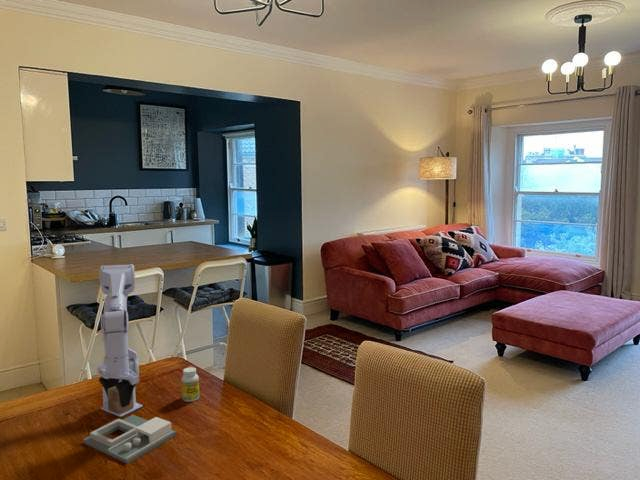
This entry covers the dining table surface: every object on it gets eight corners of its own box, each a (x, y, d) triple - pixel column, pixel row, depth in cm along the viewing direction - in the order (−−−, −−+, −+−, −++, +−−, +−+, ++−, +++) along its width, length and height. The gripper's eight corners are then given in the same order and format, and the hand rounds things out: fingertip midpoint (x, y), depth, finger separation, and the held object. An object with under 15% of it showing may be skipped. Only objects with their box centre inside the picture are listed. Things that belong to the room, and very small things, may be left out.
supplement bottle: (196, 393, 164) (195, 365, 163) (202, 399, 160) (201, 370, 158) (179, 397, 161) (178, 368, 160) (185, 403, 157) (184, 374, 155)
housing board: (83, 442, 134) (82, 434, 134) (133, 417, 148) (132, 409, 148) (127, 463, 125) (126, 454, 125) (176, 434, 139) (176, 426, 138)
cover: (135, 437, 135) (135, 427, 135) (156, 426, 141) (156, 416, 141) (151, 443, 132) (150, 433, 132) (171, 432, 138) (171, 422, 138)
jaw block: (108, 410, 136) (107, 388, 135) (122, 404, 139) (121, 383, 139) (119, 414, 133) (118, 392, 133) (133, 408, 137) (132, 387, 136)
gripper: (86, 354, 134) (89, 402, 136) (121, 365, 127) (124, 416, 129) (109, 346, 140) (111, 392, 142) (144, 356, 133) (146, 405, 135)
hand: (119, 403), depth 136 cm, fingers closed on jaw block, 4 cm apart
